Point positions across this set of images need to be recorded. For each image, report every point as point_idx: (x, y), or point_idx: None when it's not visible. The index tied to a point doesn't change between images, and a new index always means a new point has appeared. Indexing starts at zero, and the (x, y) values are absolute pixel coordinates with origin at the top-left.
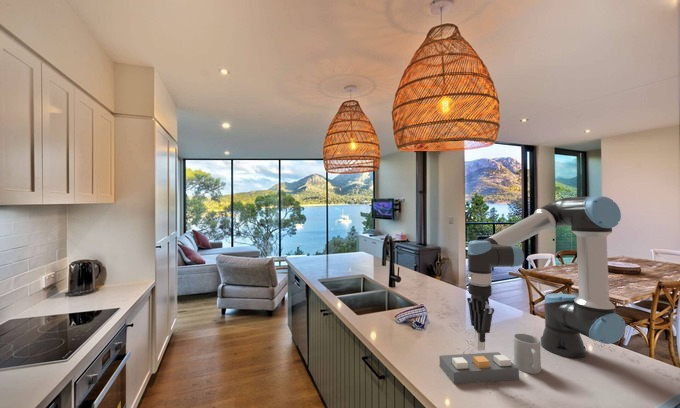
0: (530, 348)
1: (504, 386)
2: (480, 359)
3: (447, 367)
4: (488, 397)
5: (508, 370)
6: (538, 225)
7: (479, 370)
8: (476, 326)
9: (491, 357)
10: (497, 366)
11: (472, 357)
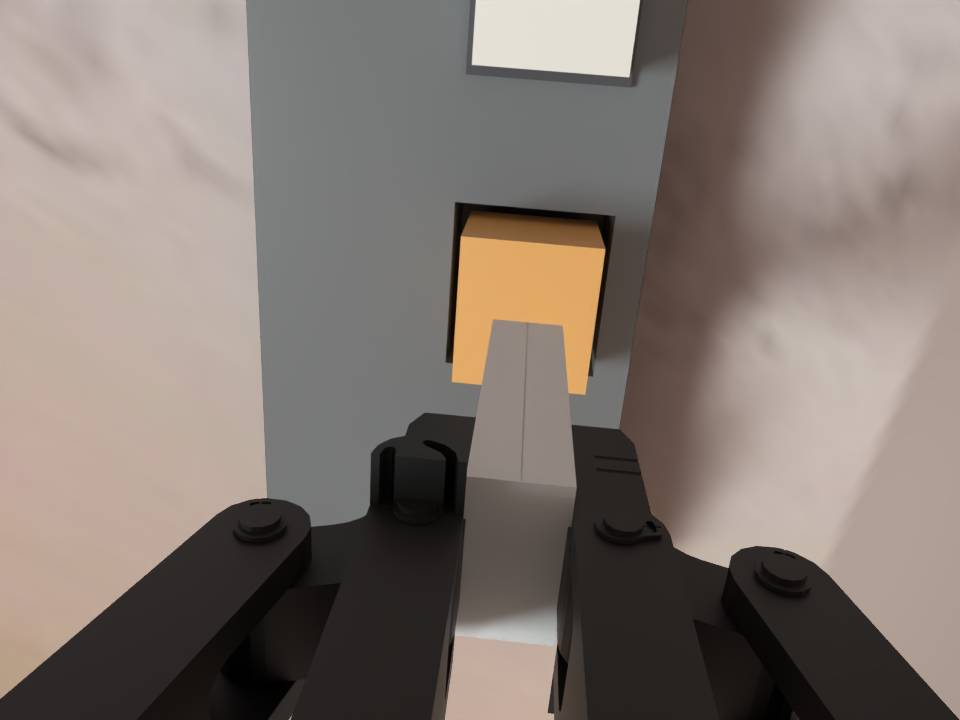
0: None
1: (742, 137)
2: None
3: None
4: (824, 406)
5: None
6: None
7: (625, 387)
8: (447, 688)
9: (380, 17)
10: (604, 106)
11: (348, 284)
